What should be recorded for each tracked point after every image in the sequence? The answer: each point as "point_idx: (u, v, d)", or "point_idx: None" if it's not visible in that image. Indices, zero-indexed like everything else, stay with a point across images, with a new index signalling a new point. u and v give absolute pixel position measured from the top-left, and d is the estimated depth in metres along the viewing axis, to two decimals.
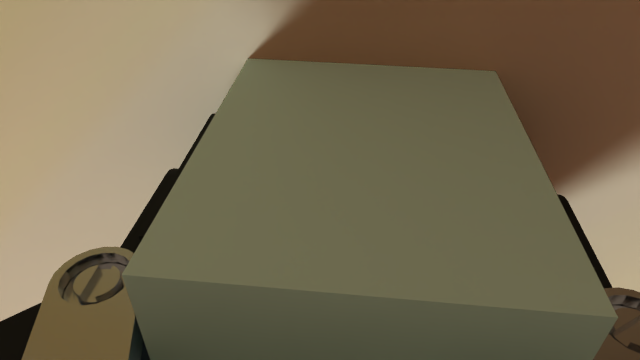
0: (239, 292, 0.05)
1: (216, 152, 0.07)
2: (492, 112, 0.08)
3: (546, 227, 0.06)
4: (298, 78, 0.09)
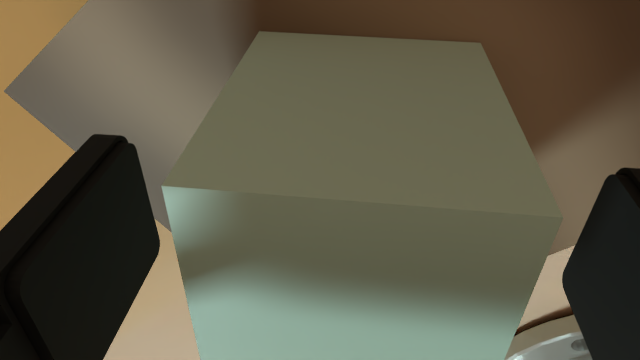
0: (257, 201, 0.06)
1: (234, 102, 0.08)
2: (475, 74, 0.09)
3: (512, 157, 0.07)
4: (304, 47, 0.10)
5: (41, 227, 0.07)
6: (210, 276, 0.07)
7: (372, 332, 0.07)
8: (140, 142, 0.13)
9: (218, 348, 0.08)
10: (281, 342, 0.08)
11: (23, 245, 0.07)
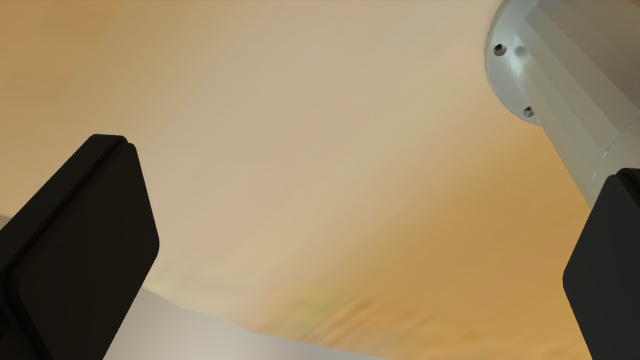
0: None
1: None
2: None
3: None
4: None
5: (40, 227, 0.07)
6: None
7: None
8: None
9: None
10: None
11: (23, 245, 0.07)
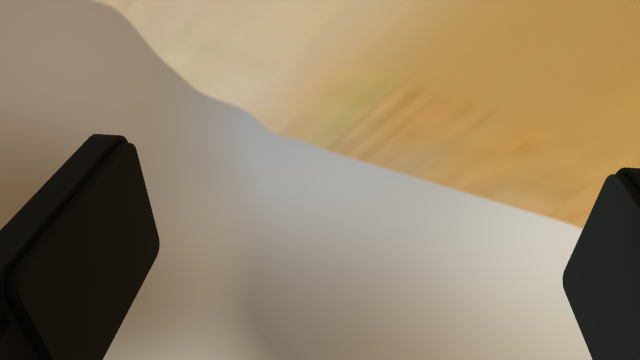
0: None
1: None
2: None
3: None
4: None
5: (40, 227, 0.07)
6: None
7: None
8: None
9: None
10: None
11: (23, 245, 0.07)
